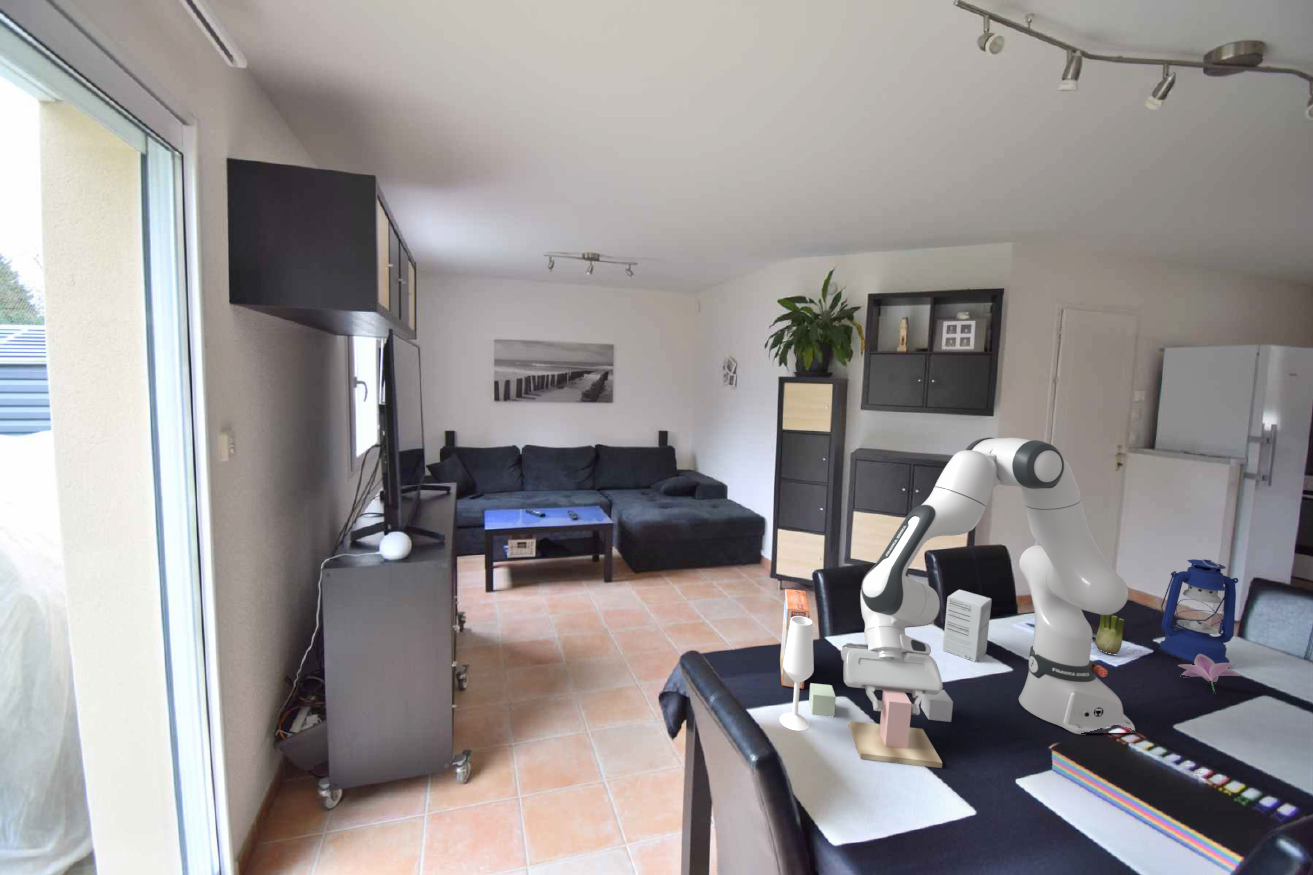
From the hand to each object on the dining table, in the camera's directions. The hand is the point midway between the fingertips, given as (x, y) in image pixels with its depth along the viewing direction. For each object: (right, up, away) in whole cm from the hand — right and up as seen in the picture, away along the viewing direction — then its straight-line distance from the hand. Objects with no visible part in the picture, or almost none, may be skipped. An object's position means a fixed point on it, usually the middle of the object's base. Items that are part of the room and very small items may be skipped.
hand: (896, 712), depth 116 cm
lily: (+97, -9, +31) cm, 102 cm away
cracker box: (-15, -5, +29) cm, 33 cm away
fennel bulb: (+85, -7, +49) cm, 98 cm away
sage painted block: (-12, -6, +14) cm, 19 cm away
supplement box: (+40, -5, +46) cm, 61 cm away
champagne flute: (-20, -7, +9) cm, 22 cm away
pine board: (0, -8, +1) cm, 8 cm away
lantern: (+111, -8, +49) cm, 122 cm away
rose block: (0, -7, +1) cm, 7 cm away
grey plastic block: (+15, -8, +14) cm, 22 cm away
